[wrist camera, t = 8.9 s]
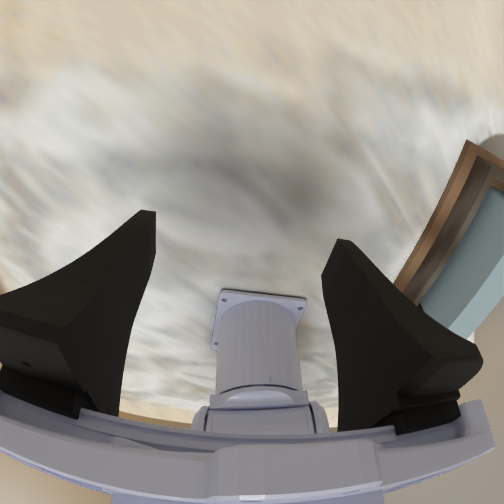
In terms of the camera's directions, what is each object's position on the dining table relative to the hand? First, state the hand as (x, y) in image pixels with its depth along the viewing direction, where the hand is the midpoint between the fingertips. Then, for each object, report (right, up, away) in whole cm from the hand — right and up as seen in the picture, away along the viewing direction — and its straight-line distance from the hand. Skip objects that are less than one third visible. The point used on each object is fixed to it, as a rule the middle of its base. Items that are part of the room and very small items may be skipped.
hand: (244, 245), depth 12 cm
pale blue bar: (+20, 0, +11) cm, 23 cm away
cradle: (+20, +1, +12) cm, 23 cm away
